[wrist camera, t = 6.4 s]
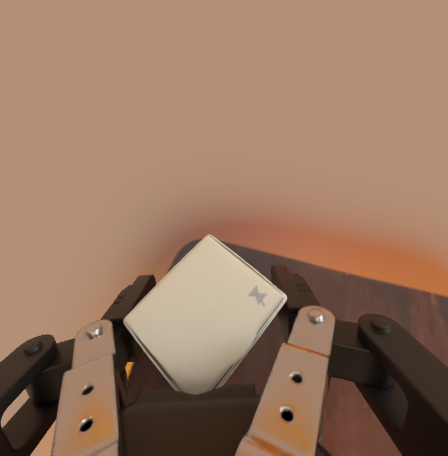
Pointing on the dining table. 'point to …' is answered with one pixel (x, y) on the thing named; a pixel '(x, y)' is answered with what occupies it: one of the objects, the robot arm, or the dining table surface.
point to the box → (204, 317)
